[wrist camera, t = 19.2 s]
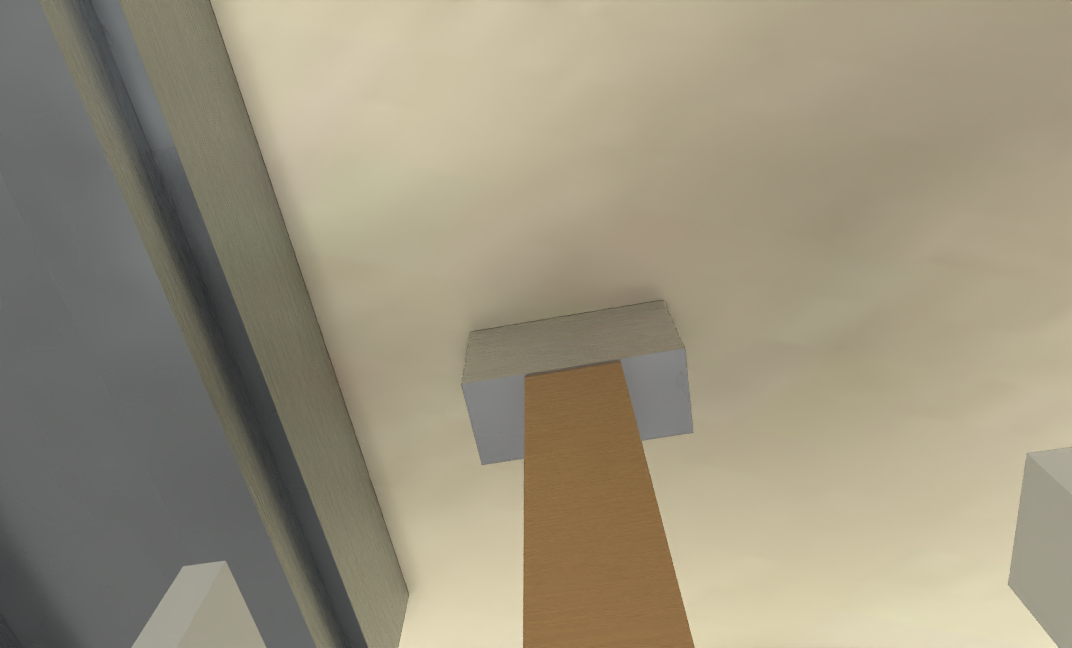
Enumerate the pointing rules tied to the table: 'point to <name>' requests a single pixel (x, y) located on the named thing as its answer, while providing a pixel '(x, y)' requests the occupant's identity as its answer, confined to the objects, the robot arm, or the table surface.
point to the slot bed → (162, 350)
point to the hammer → (587, 468)
